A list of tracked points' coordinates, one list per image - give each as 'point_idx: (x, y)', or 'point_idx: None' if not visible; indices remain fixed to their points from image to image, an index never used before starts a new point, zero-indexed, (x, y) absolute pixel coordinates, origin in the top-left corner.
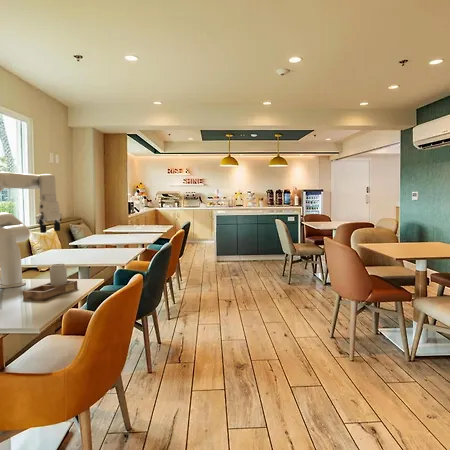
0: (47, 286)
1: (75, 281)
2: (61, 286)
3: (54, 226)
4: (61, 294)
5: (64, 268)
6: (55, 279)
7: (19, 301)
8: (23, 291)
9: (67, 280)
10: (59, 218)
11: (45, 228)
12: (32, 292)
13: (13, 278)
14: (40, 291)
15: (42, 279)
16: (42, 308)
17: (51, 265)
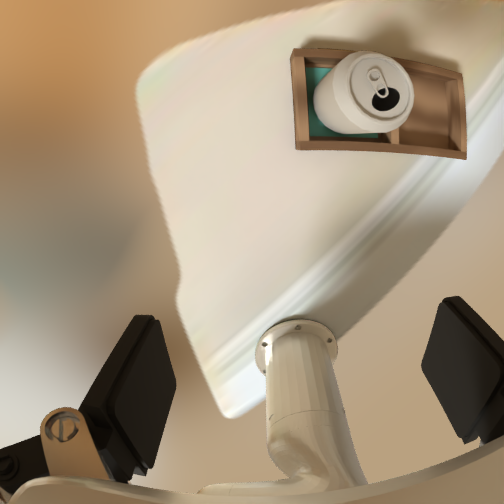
0: None
1: (304, 49)
2: None
3: (161, 430)
4: None
5: (369, 52)
6: (388, 89)
7: None
8: (465, 156)
9: (299, 95)
10: (59, 498)
11: (488, 326)
12: (464, 119)
13: (320, 349)
14: (459, 90)
15: (194, 325)
16: (482, 47)
17: (406, 112)
